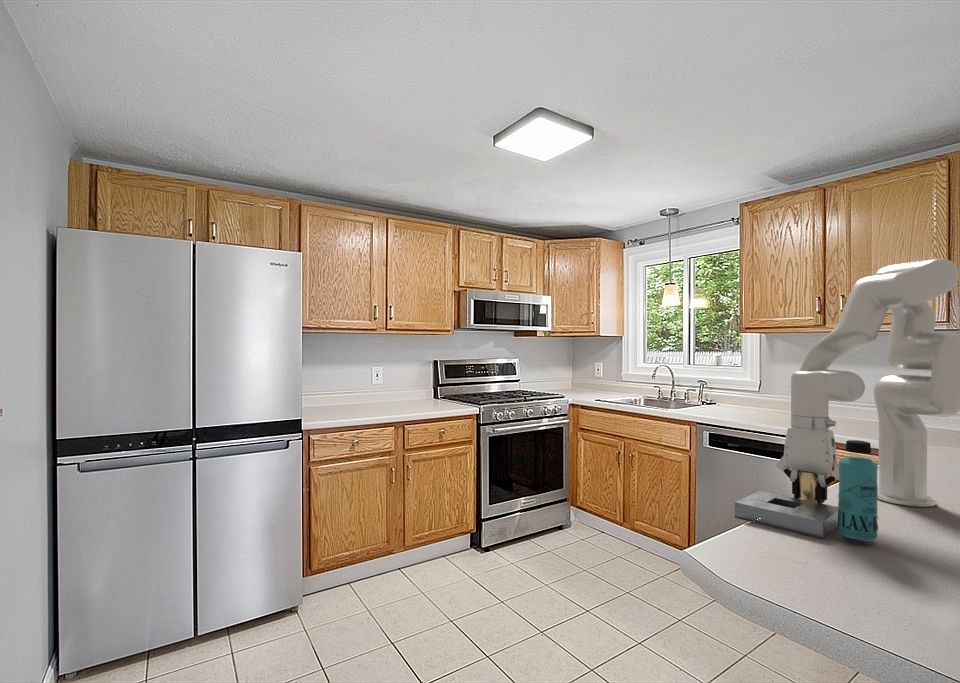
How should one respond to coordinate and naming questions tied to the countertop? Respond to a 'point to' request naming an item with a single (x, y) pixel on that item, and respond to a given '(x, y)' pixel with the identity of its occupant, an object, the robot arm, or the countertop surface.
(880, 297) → the robot arm
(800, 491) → the bushing
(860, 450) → the beverage bottle
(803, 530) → the jig
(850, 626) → the countertop surface
